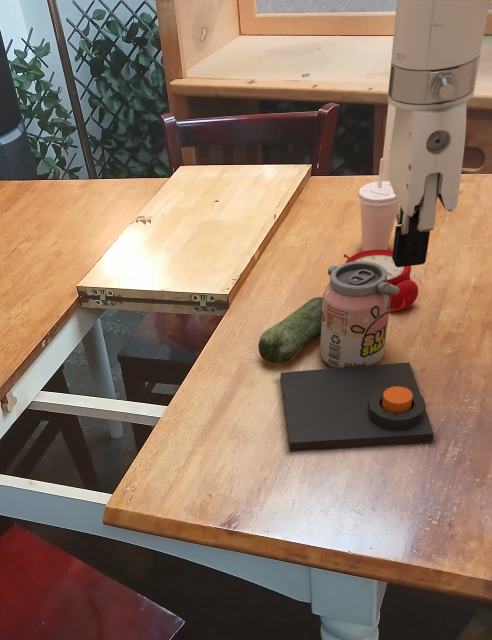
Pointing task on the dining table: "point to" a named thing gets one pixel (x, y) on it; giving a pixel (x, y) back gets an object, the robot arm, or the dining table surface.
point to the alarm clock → (391, 276)
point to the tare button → (397, 399)
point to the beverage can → (355, 314)
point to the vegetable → (292, 333)
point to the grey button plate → (351, 408)
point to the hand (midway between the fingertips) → (408, 262)
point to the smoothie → (377, 213)
